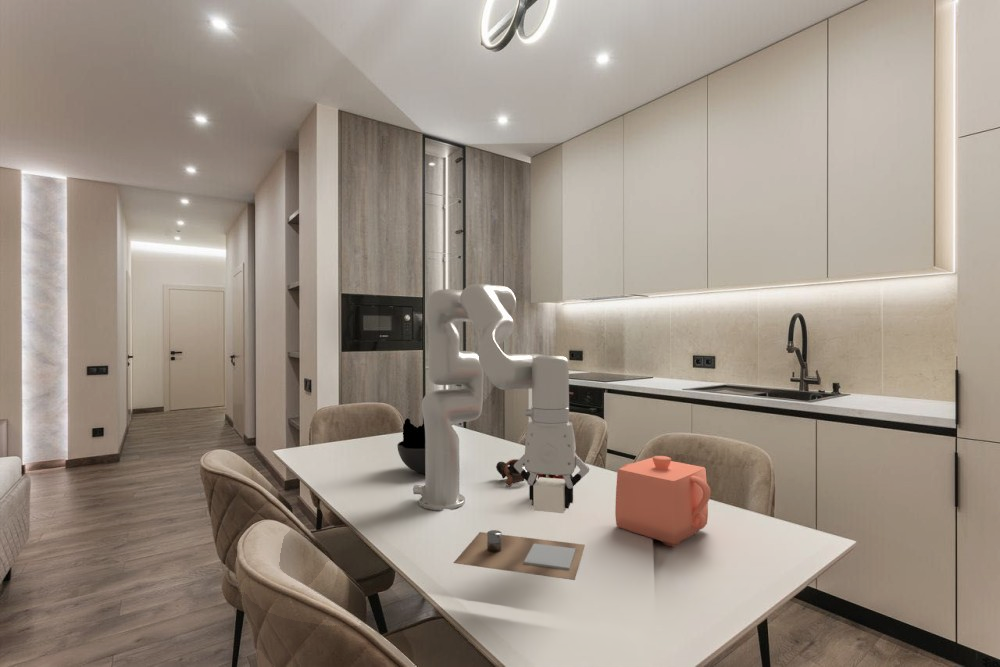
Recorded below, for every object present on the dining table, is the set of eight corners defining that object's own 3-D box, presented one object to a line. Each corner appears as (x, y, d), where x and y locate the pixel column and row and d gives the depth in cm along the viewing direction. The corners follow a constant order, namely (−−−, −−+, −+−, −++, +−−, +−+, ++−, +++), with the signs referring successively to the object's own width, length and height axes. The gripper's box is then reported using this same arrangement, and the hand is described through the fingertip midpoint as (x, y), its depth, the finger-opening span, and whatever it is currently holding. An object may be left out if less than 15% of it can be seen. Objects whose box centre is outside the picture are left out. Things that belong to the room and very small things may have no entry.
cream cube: (533, 510, 96) (533, 485, 97) (539, 501, 102) (539, 477, 102) (563, 513, 95) (563, 487, 95) (568, 503, 100) (567, 479, 101)
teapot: (651, 505, 134) (651, 440, 135) (737, 527, 118) (736, 453, 118) (600, 529, 117) (600, 455, 117) (692, 559, 101) (691, 473, 101)
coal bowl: (463, 466, 175) (463, 414, 175) (444, 482, 156) (444, 423, 156) (411, 463, 180) (411, 412, 180) (387, 478, 160) (387, 421, 160)
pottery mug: (533, 480, 160) (535, 462, 155) (521, 500, 152) (523, 481, 148) (501, 467, 164) (501, 449, 160) (487, 486, 157) (488, 467, 153)
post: (485, 551, 101) (485, 534, 101) (489, 545, 104) (489, 529, 104) (499, 553, 100) (499, 536, 100) (503, 547, 103) (503, 531, 103)
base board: (453, 570, 96) (453, 562, 96) (479, 538, 111) (479, 532, 111) (574, 587, 89) (574, 579, 89) (585, 551, 104) (585, 544, 104)
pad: (523, 563, 96) (523, 561, 96) (533, 545, 104) (533, 543, 104) (569, 570, 93) (569, 567, 93) (575, 550, 102) (575, 548, 102)
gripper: (504, 417, 98) (505, 507, 97) (591, 420, 93) (592, 515, 92) (514, 412, 105) (515, 495, 105) (595, 415, 100) (596, 502, 100)
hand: (551, 504), depth 99 cm, fingers closed on cream cube, 6 cm apart
